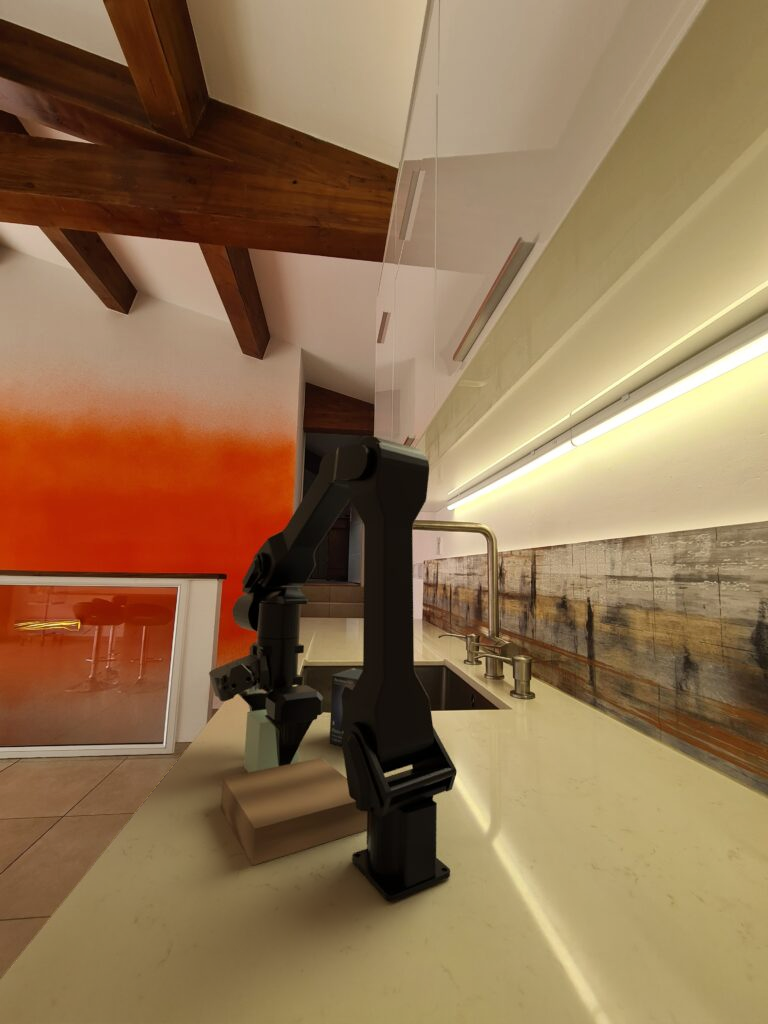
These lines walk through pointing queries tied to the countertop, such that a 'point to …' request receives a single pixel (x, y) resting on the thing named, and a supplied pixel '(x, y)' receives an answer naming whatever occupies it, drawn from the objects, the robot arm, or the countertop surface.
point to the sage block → (261, 743)
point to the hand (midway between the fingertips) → (271, 757)
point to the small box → (340, 701)
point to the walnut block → (289, 808)
